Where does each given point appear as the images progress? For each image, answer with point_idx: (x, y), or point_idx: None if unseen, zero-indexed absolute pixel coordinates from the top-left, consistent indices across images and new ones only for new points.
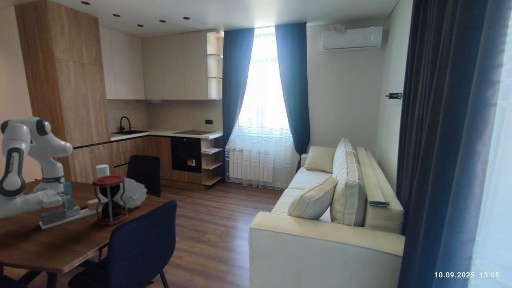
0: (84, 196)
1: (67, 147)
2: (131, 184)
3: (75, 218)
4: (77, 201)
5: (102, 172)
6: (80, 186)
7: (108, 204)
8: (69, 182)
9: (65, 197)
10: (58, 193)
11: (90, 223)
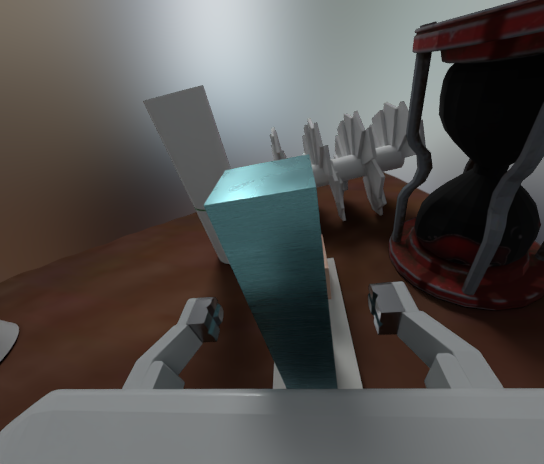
0: (124, 290)
1: None
2: (404, 103)
3: (359, 377)
4: (139, 319)
5: (208, 121)
6: (31, 284)
7: (520, 190)
8: (262, 164)
9: (434, 327)
10: (173, 363)
11: (472, 332)
